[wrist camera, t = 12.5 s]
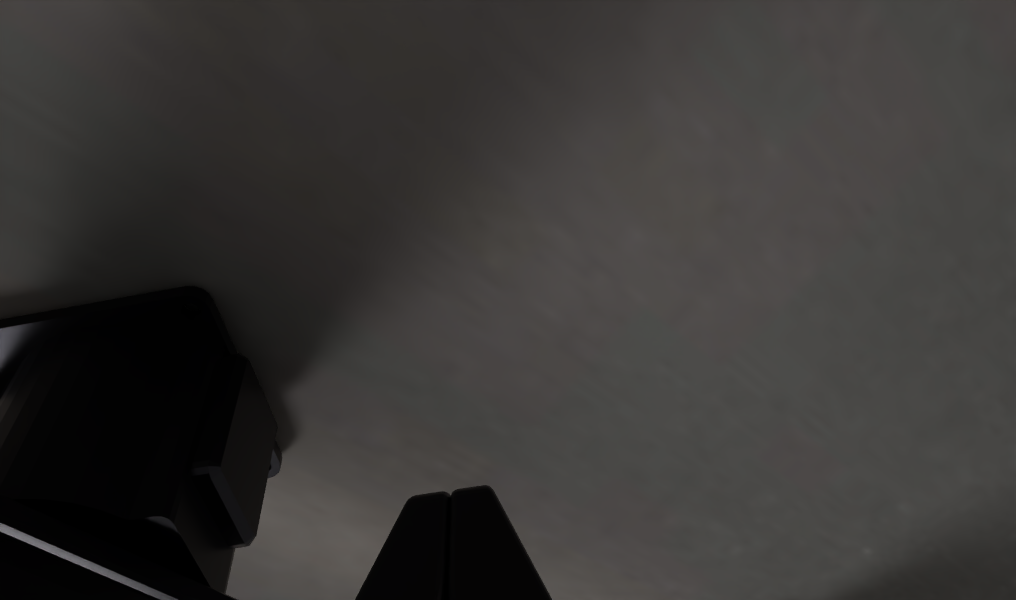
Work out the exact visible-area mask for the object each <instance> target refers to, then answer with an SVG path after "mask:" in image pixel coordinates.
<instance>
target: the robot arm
mask: <svg viewBox="0 0 1016 600" xmlns="http://www.w3.org/2000/svg"><path fill="white" fill-rule="evenodd" d="M184 304H193V305H195V306H197V307H198V308H199V309H200V310H198V311H192V310H189V309H187V308H186V307H185V306H184ZM276 432H277V423H276V421H275V419H274V416H273V414H272V412H271V409H270V407H269V405H268V403H267V400H266V398H265V396H264V393H263V391H262V389H261V387H260V384H259V382H258V380H257V377H256V375H255V373H254V371H253V368H252V366H251V364H250V361H249V360H248V359H247V358H245V357H244V356H243V355H241V354H239V353H238V354H237V352H236V350H235V348H234V345H233V343H232V341H231V339H230V336H229V334H228V332H227V330H226V327H225V325H224V323H223V321H222V318H221V316H220V314H219V312H218V309H217V307H216V305H215V303H214V300H213V298H212V297H211V296H210V294H209V293H208V292H206V291H205V290H203V289H202V288H198V287H195V286H186V287H180V288H174V289H169V290H163V291H158V292H152V293H147V294H141V295H136V296H130V297H125V298H119V299H114V300H108V301H102V302H97V303H91V304H86V305H80V306H75V307H69V308H64V309H58V310H53V311H47V312H42V313H36V314H31V315H25V316H19V317H14V318H8V319H3V320H0V600H238V599H235V598H233V597H231V596H229V595H226V594H225V593H226V589H227V584H228V579H229V575H230V570H231V565H232V561H233V556H234V552H235V548H240V547H246V546H249V545H250V544H251V543H252V541H253V540H254V538H255V537H256V534H257V529H258V524H259V519H260V514H261V509H262V504H263V499H264V493H265V488H266V483H267V478H270V477H273V476H275V475H276V474H277V473H279V470H280V468H281V462H282V453H281V451H280V449H279V446H278V444H277V442H276V440H275V437H276ZM355 600H552V599H551V597H550V595H549V593H548V591H547V589H546V587H545V585H544V584H543V582H542V580H541V578H540V576H539V574H538V572H537V571H536V569H535V567H534V565H533V563H532V561H531V559H530V557H529V556H528V554H527V552H526V550H525V548H524V546H523V544H522V543H521V541H520V539H519V537H518V535H517V533H516V531H515V529H514V528H513V526H512V524H511V522H510V520H509V518H508V516H507V514H506V513H505V511H504V509H503V507H502V505H501V503H500V501H499V500H498V498H497V496H496V494H495V492H494V490H493V489H492V488H491V487H490V486H487V485H483V486H476V487H469V488H462V489H457V490H455V491H453V492H452V495H451V496H450V494H449V493H447V492H443V491H442V492H435V493H428V494H421V495H415V496H412V497H411V498H410V499H408V501H407V502H406V504H405V505H404V507H403V509H402V511H401V513H400V515H399V517H398V519H397V521H396V523H395V524H394V526H393V528H392V530H391V532H390V534H389V536H388V538H387V540H386V542H385V544H384V545H383V547H382V549H381V551H380V553H379V555H378V557H377V559H376V561H375V563H374V565H373V566H372V568H371V570H370V572H369V574H368V576H367V578H366V580H365V582H364V584H363V585H362V587H361V589H360V591H359V593H358V595H357V597H356V599H355Z"/></svg>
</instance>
